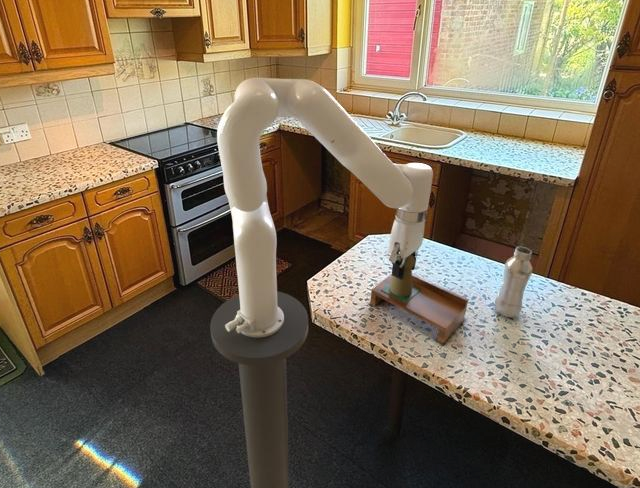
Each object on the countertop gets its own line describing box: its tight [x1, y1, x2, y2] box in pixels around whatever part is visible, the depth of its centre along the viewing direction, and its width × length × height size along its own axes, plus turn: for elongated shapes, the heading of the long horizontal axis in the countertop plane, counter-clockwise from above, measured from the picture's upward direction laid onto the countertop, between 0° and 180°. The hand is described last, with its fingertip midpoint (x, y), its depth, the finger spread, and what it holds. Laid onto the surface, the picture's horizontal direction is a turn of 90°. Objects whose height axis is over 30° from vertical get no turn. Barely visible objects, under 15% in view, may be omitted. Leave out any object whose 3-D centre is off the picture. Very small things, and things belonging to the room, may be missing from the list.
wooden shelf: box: [369, 272, 470, 345], centre depth 108 cm, size 12×22×7 cm, turn 46°
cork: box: [390, 252, 416, 296], centre depth 107 cm, size 6×6×11 cm
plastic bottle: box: [494, 246, 533, 318], centre depth 105 cm, size 6×7×20 cm
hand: (403, 271), depth 107 cm, fingers closed on cork, 5 cm apart
